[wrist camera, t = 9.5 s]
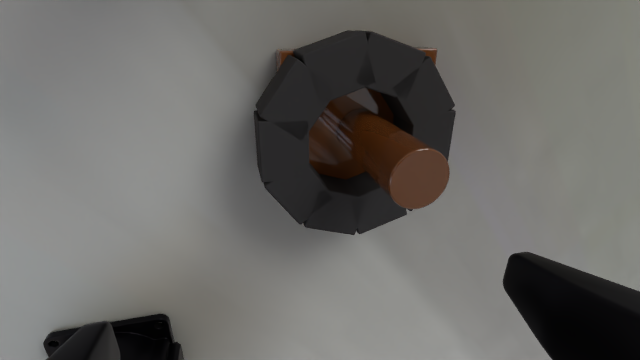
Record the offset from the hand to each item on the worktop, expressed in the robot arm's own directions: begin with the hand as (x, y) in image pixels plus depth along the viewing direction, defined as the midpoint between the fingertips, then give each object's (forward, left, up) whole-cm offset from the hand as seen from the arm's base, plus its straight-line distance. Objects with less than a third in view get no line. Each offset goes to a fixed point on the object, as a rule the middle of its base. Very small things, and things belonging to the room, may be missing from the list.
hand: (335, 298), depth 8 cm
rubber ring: (+4, 0, -11) cm, 12 cm away
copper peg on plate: (+5, 0, -12) cm, 13 cm away
